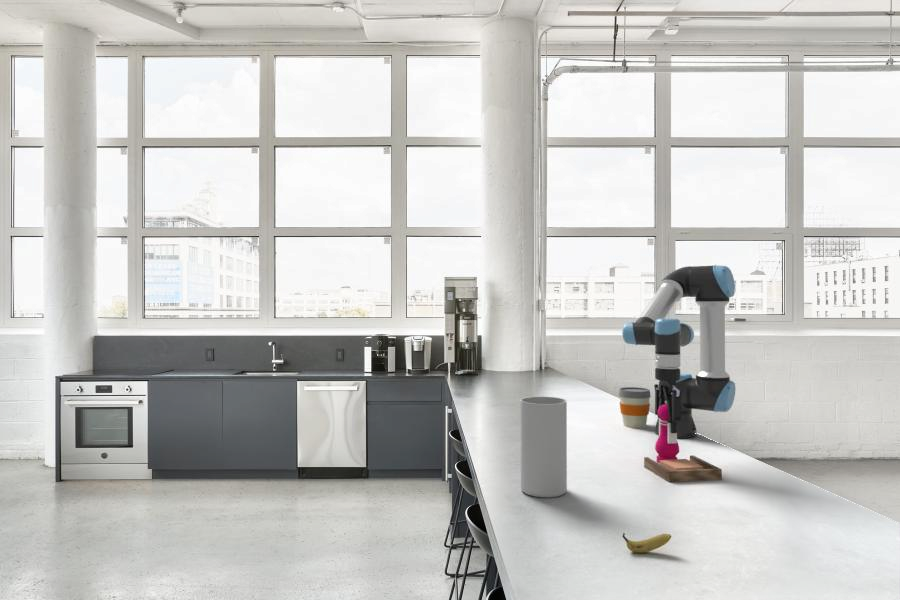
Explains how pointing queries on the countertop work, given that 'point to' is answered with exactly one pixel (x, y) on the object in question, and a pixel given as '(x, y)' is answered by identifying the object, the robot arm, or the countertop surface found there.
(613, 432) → the countertop surface
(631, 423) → the reusable coffee cup
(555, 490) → the cylinder vase
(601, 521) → the countertop surface
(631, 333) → the robot arm
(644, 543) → the banana
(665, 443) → the pepper mill
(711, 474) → the walnut frame
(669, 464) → the terracotta tile
